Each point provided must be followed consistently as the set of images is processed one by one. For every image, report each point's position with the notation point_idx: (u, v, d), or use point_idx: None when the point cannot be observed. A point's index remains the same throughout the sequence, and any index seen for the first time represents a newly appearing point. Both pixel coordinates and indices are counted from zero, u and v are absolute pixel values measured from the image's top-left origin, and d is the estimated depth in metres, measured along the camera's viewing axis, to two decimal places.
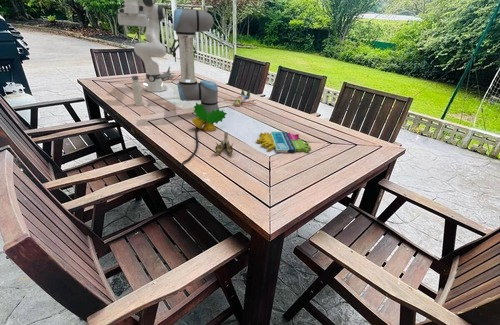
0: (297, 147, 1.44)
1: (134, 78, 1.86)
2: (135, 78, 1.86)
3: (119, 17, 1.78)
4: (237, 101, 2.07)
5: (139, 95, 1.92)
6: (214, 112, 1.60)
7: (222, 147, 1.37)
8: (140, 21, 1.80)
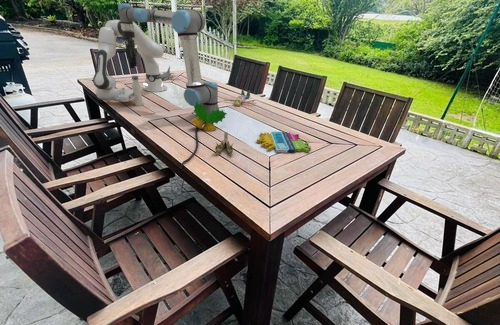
0: (297, 147, 1.44)
1: (134, 78, 1.86)
2: (135, 78, 1.86)
3: None
4: (237, 101, 2.07)
5: (139, 95, 1.92)
6: (214, 112, 1.60)
7: (222, 147, 1.37)
8: None
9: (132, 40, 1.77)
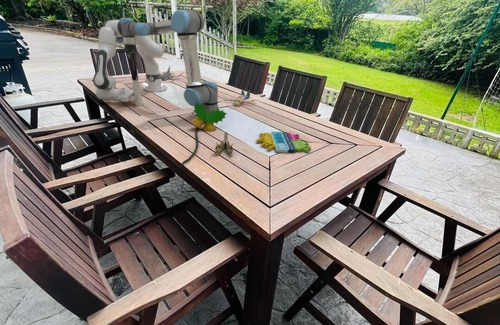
0: (297, 147, 1.44)
1: None
2: None
3: None
4: (237, 101, 2.07)
5: (139, 95, 1.92)
6: (214, 112, 1.60)
7: (222, 147, 1.37)
8: None
9: (134, 53, 1.81)
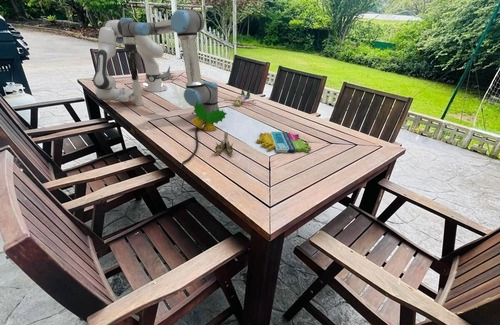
0: (297, 147, 1.44)
1: None
2: None
3: None
4: (237, 101, 2.07)
5: (139, 95, 1.92)
6: (214, 112, 1.60)
7: (222, 147, 1.37)
8: None
9: (133, 52, 1.81)
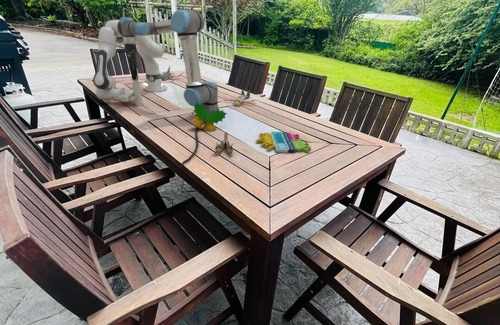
0: (297, 147, 1.44)
1: None
2: None
3: None
4: (237, 101, 2.07)
5: (139, 95, 1.92)
6: (214, 112, 1.60)
7: (222, 147, 1.37)
8: None
9: (134, 52, 1.81)
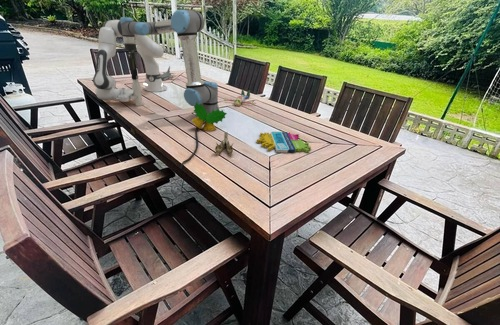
0: (297, 147, 1.44)
1: None
2: None
3: None
4: (237, 101, 2.07)
5: (139, 95, 1.92)
6: (214, 112, 1.60)
7: (222, 147, 1.37)
8: None
9: (134, 52, 1.81)
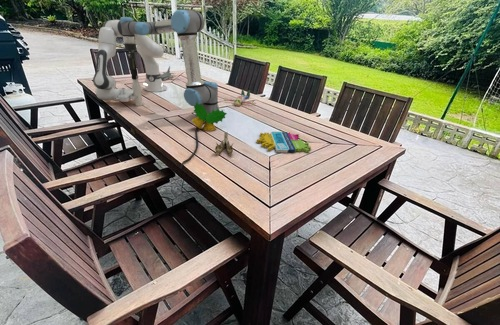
0: (297, 147, 1.44)
1: (137, 77, 1.87)
2: (137, 77, 1.87)
3: None
4: (237, 101, 2.07)
5: (139, 95, 1.92)
6: (214, 112, 1.60)
7: (222, 147, 1.37)
8: None
9: (134, 52, 1.81)
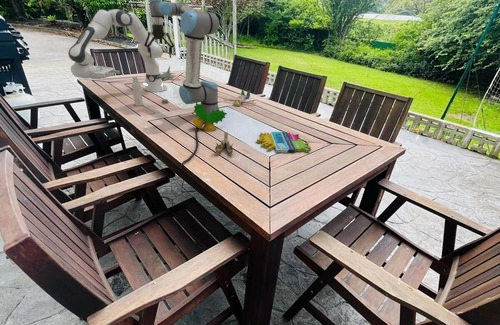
0: (297, 147, 1.44)
1: None
2: None
3: None
4: (237, 101, 2.07)
5: (139, 95, 1.92)
6: (214, 112, 1.60)
7: (222, 147, 1.37)
8: None
9: None
